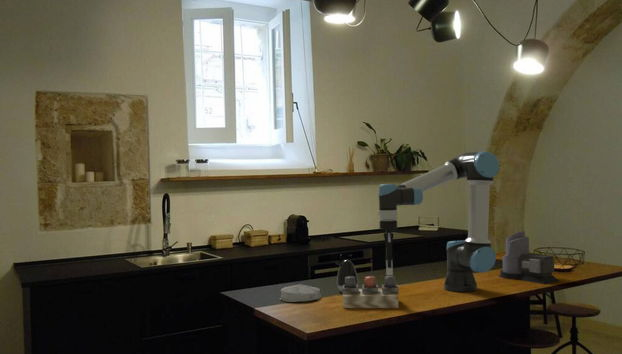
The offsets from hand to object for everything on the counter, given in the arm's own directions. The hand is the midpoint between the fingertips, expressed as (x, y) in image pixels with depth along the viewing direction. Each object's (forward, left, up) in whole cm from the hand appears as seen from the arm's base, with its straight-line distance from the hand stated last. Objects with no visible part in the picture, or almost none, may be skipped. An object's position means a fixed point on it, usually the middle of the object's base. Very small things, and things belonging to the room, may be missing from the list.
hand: (389, 274), depth 234 cm
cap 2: (0, 0, -5) cm, 5 cm away
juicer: (-40, -81, -13) cm, 91 cm away
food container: (+42, +7, -13) cm, 44 cm away
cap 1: (+15, +7, -5) cm, 18 cm away
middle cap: (+8, +4, -5) cm, 10 cm away
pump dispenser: (+29, -14, -13) cm, 34 cm away
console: (+8, +4, -12) cm, 15 cm away
